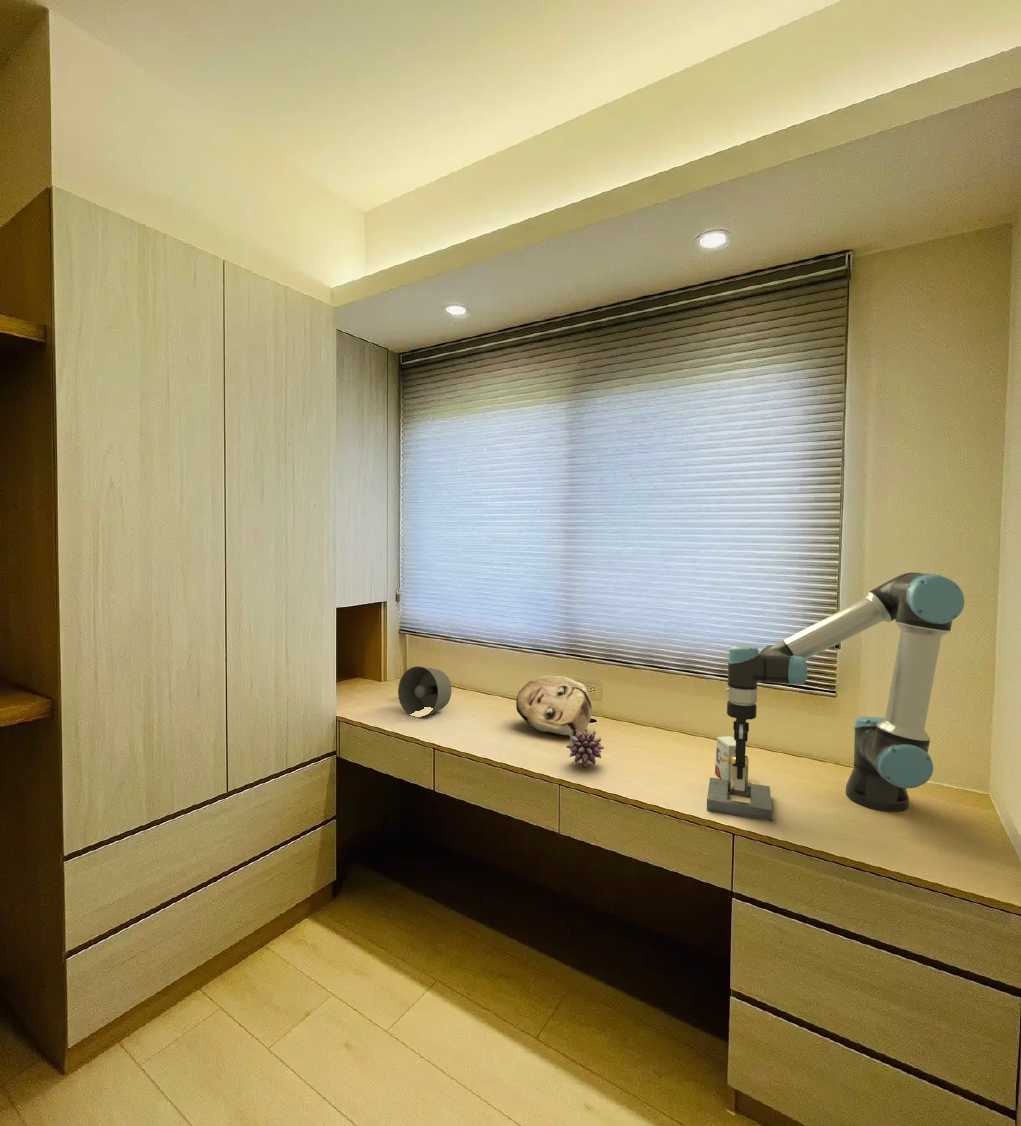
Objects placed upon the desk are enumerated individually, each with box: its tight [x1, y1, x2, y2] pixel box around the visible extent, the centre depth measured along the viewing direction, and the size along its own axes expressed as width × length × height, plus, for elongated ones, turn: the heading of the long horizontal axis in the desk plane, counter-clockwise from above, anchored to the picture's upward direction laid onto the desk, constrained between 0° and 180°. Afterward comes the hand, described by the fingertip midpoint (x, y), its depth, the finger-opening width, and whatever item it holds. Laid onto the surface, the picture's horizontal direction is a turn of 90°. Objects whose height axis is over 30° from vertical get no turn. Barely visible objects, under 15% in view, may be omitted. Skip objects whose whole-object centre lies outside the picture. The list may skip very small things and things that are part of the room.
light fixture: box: [397, 666, 452, 718], centre depth 250 cm, size 20×25×27 cm
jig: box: [706, 777, 773, 822], centre depth 161 cm, size 16×16×3 cm
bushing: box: [731, 755, 750, 794], centre depth 161 cm, size 4×4×9 cm
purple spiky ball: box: [566, 727, 605, 768], centre depth 187 cm, size 12×12×12 cm
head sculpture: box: [515, 674, 593, 736], centre depth 225 cm, size 23×17×28 cm
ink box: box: [714, 735, 736, 780], centre depth 178 cm, size 9×5×12 cm, turn 6°
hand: (739, 786), depth 161 cm, fingers closed on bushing, 4 cm apart
